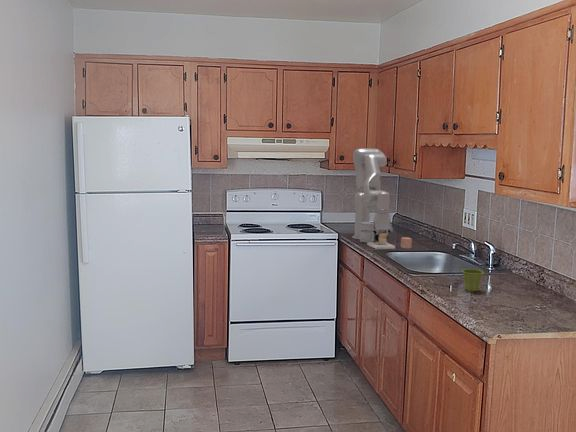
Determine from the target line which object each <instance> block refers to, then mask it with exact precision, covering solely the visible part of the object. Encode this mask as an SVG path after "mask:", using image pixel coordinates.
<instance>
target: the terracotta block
mask: <svg viewBox="0 0 576 432" xmlns="http://www.w3.org/2000/svg"><path fill="white" fill-rule="evenodd" d="M412 243H413V238H411V237H401V238H400V248H403V249H412V245H413V244H412Z"/></svg>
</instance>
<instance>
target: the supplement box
mask: <svg viewBox="0 0 576 432" xmlns="http://www.w3.org/2000/svg"><path fill="white" fill-rule="evenodd" d="M372 226H373V222H372V221H369V222H362V223H361V231H360V239H359V242H360V243H366V244H367V243H371V242H374V241H375V233H374V232H373V231H372V230H371V227H372ZM374 230H376V229H374Z"/></svg>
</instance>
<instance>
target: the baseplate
mask: <svg viewBox="0 0 576 432" xmlns="http://www.w3.org/2000/svg"><path fill="white" fill-rule="evenodd" d="M366 245H367V246H369V248H370V247H371V248H373V249H374V248H375V250H391V249H396V245H394V244H391V243H389V242H387V243H378V242H376V241H375V242H371V243H366Z"/></svg>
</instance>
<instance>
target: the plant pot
mask: <svg viewBox="0 0 576 432" xmlns="http://www.w3.org/2000/svg"><path fill="white" fill-rule="evenodd" d="M461 272H462V275H463V282H464V290H466V291H467V292H479V290H480V285H481V281H482V277H483V274H484V271H483V270H480V269H474V268H472V269H471V268H467V269H466V268H463V269H461Z"/></svg>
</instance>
